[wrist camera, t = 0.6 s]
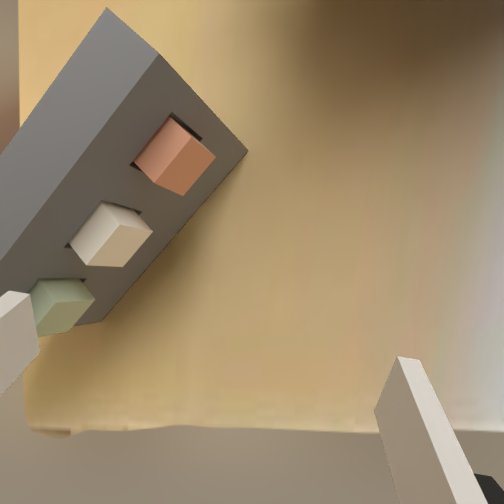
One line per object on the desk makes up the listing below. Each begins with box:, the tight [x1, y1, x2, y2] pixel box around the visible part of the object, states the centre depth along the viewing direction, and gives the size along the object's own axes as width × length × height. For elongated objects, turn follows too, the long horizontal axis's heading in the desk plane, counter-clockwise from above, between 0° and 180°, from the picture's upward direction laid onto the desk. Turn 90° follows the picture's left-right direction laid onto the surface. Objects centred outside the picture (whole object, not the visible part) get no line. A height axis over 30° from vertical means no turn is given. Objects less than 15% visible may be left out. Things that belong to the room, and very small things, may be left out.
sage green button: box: [27, 278, 95, 337], centre depth 33 cm, size 5×6×5 cm
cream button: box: [68, 200, 153, 267], centre depth 31 cm, size 5×6×5 cm
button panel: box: [0, 7, 248, 326], centre depth 34 cm, size 28×6×18 cm, turn 135°
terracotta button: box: [133, 115, 216, 196], centre depth 30 cm, size 5×6×5 cm
